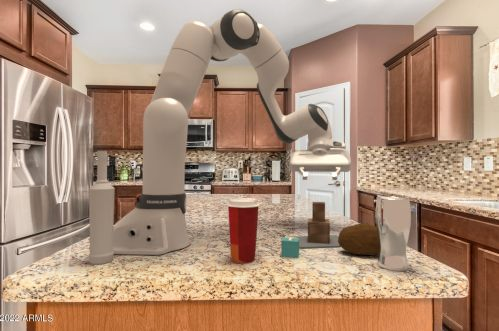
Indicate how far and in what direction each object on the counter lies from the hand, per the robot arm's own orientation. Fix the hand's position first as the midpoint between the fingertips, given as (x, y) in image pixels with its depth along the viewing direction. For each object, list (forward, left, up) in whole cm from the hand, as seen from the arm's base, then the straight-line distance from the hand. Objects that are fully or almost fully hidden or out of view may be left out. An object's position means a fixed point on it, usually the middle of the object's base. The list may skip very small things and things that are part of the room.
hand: (319, 178), depth 94 cm
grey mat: (-4, -9, -18) cm, 21 cm away
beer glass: (+4, -31, -18) cm, 36 cm away
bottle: (-60, -19, -18) cm, 65 cm away
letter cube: (-16, -20, -18) cm, 31 cm away
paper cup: (-28, -22, -18) cm, 40 cm away
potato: (+3, -22, -18) cm, 28 cm away
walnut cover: (-4, -9, -18) cm, 20 cm away
